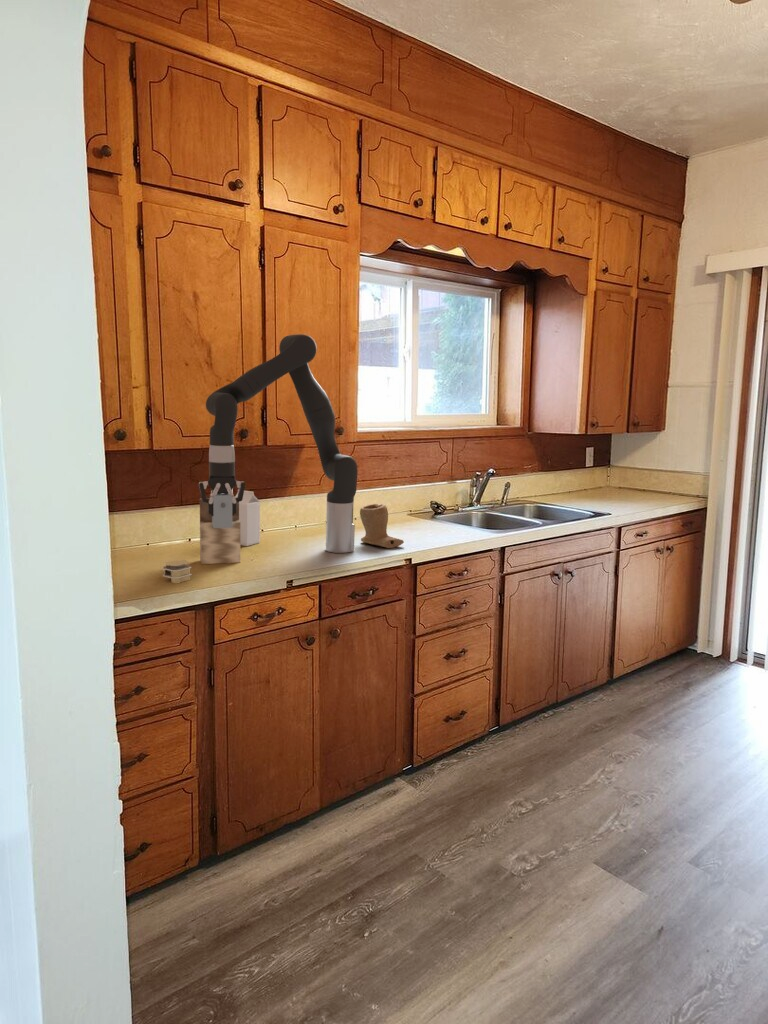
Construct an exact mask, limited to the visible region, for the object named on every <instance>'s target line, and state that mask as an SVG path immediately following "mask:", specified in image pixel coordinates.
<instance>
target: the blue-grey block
mask: <svg viewBox="0 0 768 1024" xmlns="http://www.w3.org/2000/svg"><path fill="white" fill-rule="evenodd" d="M211 492H212V490H211V491H210V493H211ZM212 525H213V527H214V528H232V495H229V494H224V493H221V494H216V495H213V516H212Z"/></svg>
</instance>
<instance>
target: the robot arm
mask: <svg viewBox="0 0 768 1024" xmlns="http://www.w3.org/2000/svg"><path fill="white" fill-rule="evenodd" d="M317 349H318V348H317V343H316V341H315V339H314V338H312V337H311V336H310V335H307V334H299V333H298V334H288V335H286V336H283V338H282V339H281V341H280V342H279V354H277V355H276V356H274V357H272V358H270V359H269V360H266V361H265V362H262V363H260V364H258V365H256V366H254V367H252V368H250V369H249V370H247V371H246V372H245V373H243V374H241V375H240V376H239V377H237V378H236V379H235V380H233V381H232V382H230V383H228V384H226V385H224V386H222V387H220V388H219V389H217V390H215V391H213V392H212V393H211V394H209V396H208V397H207V398H206V400H205V409H206V411H207V412H208V413H209V414H210V415H212V416H214V423H213V425H212V426H210V428H209V451H208V474H209V475H208V479H207V481H206V480H205V481H199V482H198V487H199V492H200V496H201V497H200V498H202V501H203V502H206V503H208V512H209V514H211V516H213V495H216V494H221V493H224V494H229V495H232V516H234V514H236V503H237V502H239V501H242V499H243V494H244V490H245V487H246V483H245V481H243V480H242V481H239V480H237V478H236V463H235V462H236V455H235V454H236V453H235V437H234V435H235V434H234V431H235V426H236V422H237V417H238V412H239V410H238V409H239V408H238V404H240V403H243V402H247V401H249V400H251V399H252V398H253V397H255V396H256V395H258V394H259V393H261V392H262V391H263V390H264V389H266V388H268V387H269V386H271V384H274V383H275V382H276V381H277V380H279V379H281V378H282V377H283V376H285V375H287V374H289V376H290V378H291V380H292V383H293V385H294V388H295V391H296V394H297V396H298V399H299V402H300V405H301V407H302V410H303V414H304V416H305V418H306V421H307V423H308V425H309V429H310V431H311V435H312V437H313V439H314V443H315V446H316V448H317V452H318V455H319V460H320V464H321V467H322V471H323V473H324V475H325V476H326V477H327V478H328V479H329V480H331V481H333V489H332V490H331V491H329V492H327V494H326V514H325V516H326V520H325V521H326V522H325V523H326V526H325V551H327V552H329V553H333V554H334V553H335V554H347V553H350V552H355V527H356V525H355V524H354V505H355V504H354V499H355V496H356V493H357V487H358V485H357V484H358V474H359V473H358V471H359V470H358V469H359V468H358V464H357V461H356V459H355V458H353V457H352V456H350V455H346V454H342V453H341V451H340V449H339V447H338V445H337V442H336V437H335V429H336V428H335V427H336V415H335V411H334V409H333V406H332V403H331V400H330V398H329V396H328V394H327V393H326V391H325V390H324V388H322V386H321V385H320V384H319V382H318V381H317V380H316V379H315V377H314V375H313V373H312V370H311V369H310V366H309V363H310V362H312V361H313V360H314V358H315V356H316V355H317V351H318V350H317ZM207 486H209V487H210V488H211V491H212V492H211V491H210V494H209V498H208V497H207V496H206V489H207ZM235 486H237V488H238V490H239V493H238V492H237V493H238V497H237V498H235V495H234V493H233V492H234V491H233V489H234V488H235Z"/></svg>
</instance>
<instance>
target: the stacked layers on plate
mask: <svg viewBox="0 0 768 1024" xmlns="http://www.w3.org/2000/svg"><path fill="white" fill-rule="evenodd" d="M191 563H192V562H191V561H189V560H185V559H179V560H178V559H177V560H167V561H164V562H162V565H164V566H163V567H162V570H163V572H164V573H163V574H162V577H166V578H170V579H171V583H172V584H180V583H182V582H186V581H191V575H193V574H192V573H191V569H192V568H193V567H192V566H191V565H188V564H191Z"/></svg>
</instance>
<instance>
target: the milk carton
mask: <svg viewBox="0 0 768 1024" xmlns="http://www.w3.org/2000/svg"><path fill="white" fill-rule="evenodd" d="M238 493H239V489H237V493H236V495H234V497H235V498H237V497H238ZM254 493H255V492H254V491H252V490H251V491H250V490H245V489H244V494H243V499H242V501H239V521H240V546H242V547H249V546H252V545H257V544H259V543H261V501H260V500H259V499H258V498H257V497H256V496H255V494H254Z"/></svg>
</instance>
